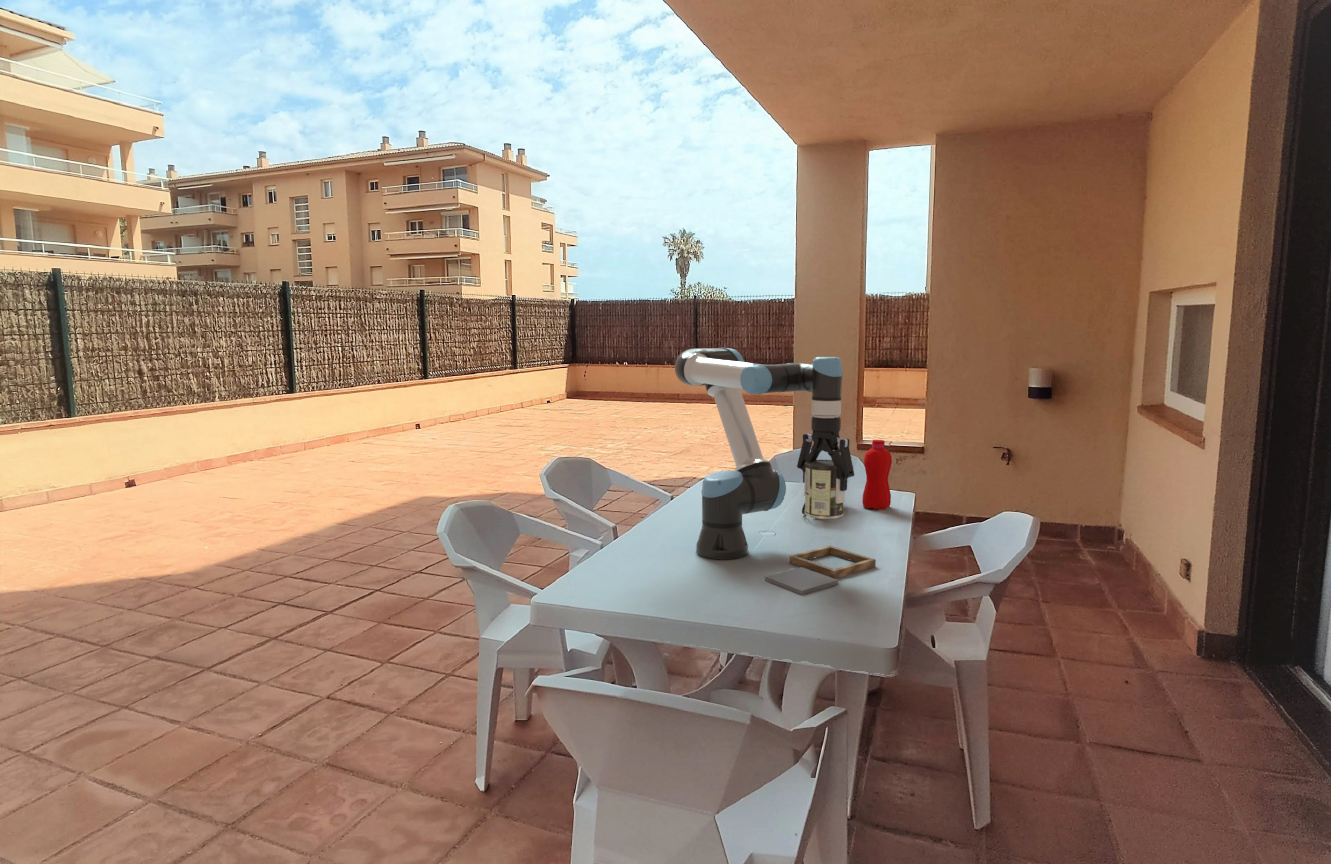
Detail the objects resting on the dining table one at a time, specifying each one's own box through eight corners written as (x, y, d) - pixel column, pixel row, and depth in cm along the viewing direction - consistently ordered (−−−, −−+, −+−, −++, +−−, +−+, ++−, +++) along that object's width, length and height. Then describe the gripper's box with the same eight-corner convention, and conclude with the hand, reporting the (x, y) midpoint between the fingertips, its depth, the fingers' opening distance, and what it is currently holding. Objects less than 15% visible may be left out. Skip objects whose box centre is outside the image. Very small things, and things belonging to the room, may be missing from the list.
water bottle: (893, 505, 267) (896, 438, 263) (885, 511, 257) (887, 442, 254) (868, 502, 271) (870, 436, 268) (860, 508, 262) (861, 440, 259)
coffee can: (837, 509, 198) (839, 459, 196) (848, 519, 188) (849, 466, 186) (800, 510, 198) (801, 459, 196) (808, 519, 187) (809, 466, 185)
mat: (801, 594, 176) (801, 590, 176) (765, 580, 187) (765, 576, 187) (838, 583, 183) (838, 580, 183) (801, 570, 194) (801, 567, 194)
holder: (834, 578, 187) (834, 571, 187) (789, 562, 201) (789, 555, 201) (875, 566, 197) (875, 559, 197) (829, 552, 210) (830, 545, 210)
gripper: (870, 418, 182) (867, 504, 185) (803, 411, 200) (801, 489, 203) (852, 421, 178) (849, 509, 181) (784, 413, 195) (783, 493, 199)
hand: (824, 498), depth 192 cm, fingers closed on coffee can, 10 cm apart
